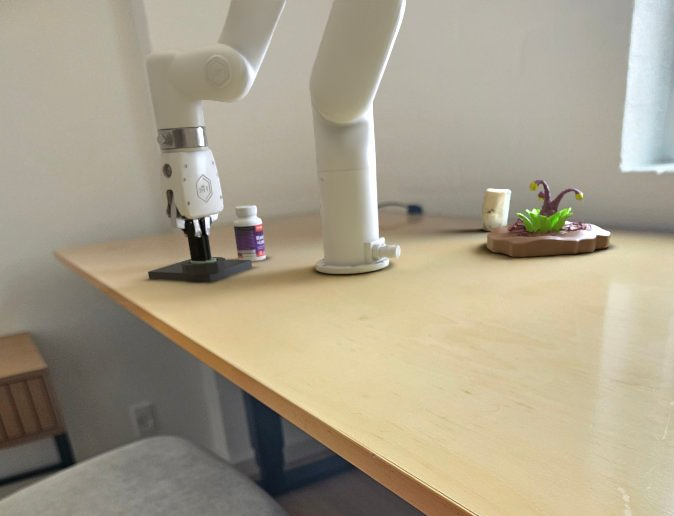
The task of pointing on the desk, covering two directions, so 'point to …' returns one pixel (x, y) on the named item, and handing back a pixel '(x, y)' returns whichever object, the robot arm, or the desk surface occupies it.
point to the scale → (200, 270)
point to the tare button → (204, 261)
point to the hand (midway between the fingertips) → (201, 259)
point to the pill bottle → (249, 234)
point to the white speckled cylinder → (495, 208)
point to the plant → (547, 231)
